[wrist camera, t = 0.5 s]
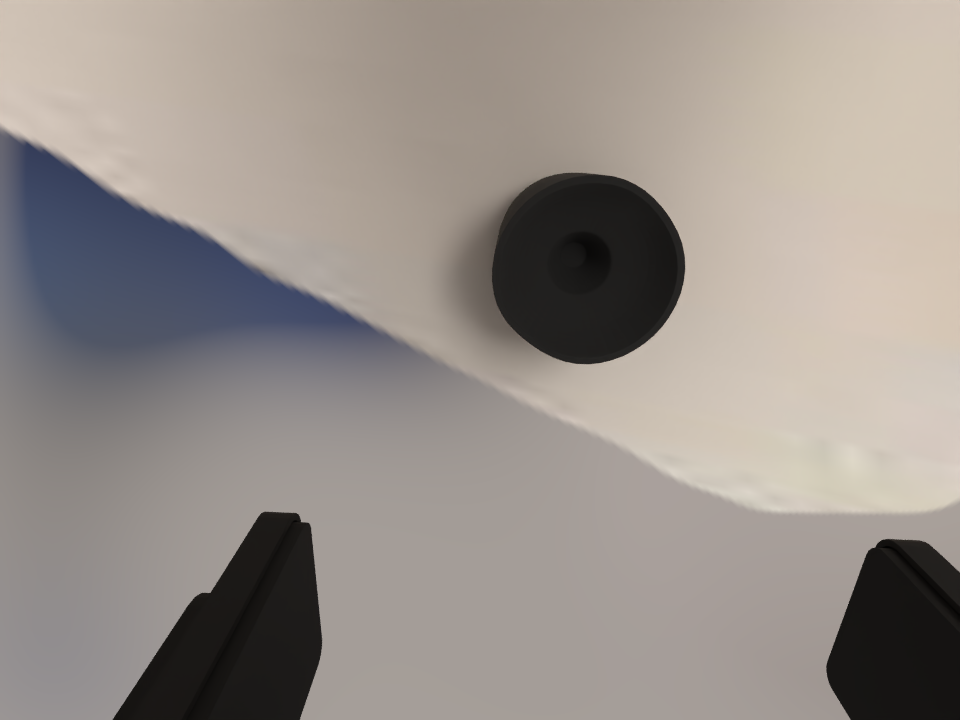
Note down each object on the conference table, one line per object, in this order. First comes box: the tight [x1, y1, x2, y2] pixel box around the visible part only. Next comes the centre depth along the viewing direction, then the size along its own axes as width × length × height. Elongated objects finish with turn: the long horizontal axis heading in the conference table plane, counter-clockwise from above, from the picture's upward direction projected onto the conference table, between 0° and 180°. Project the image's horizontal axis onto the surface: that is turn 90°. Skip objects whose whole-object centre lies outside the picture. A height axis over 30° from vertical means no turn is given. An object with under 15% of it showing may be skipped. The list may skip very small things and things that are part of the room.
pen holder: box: [492, 173, 685, 364], centre depth 32 cm, size 9×9×10 cm
